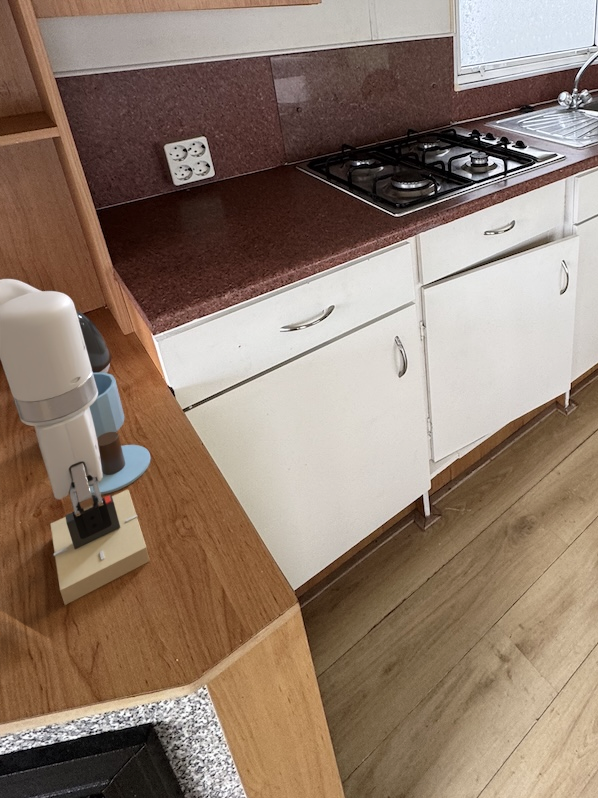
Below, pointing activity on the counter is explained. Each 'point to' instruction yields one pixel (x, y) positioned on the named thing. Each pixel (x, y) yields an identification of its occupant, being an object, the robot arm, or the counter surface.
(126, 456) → the pot lid
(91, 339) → the glossy black egg dome
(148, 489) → the counter surface
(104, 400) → the pot
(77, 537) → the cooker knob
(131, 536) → the beige switch box
